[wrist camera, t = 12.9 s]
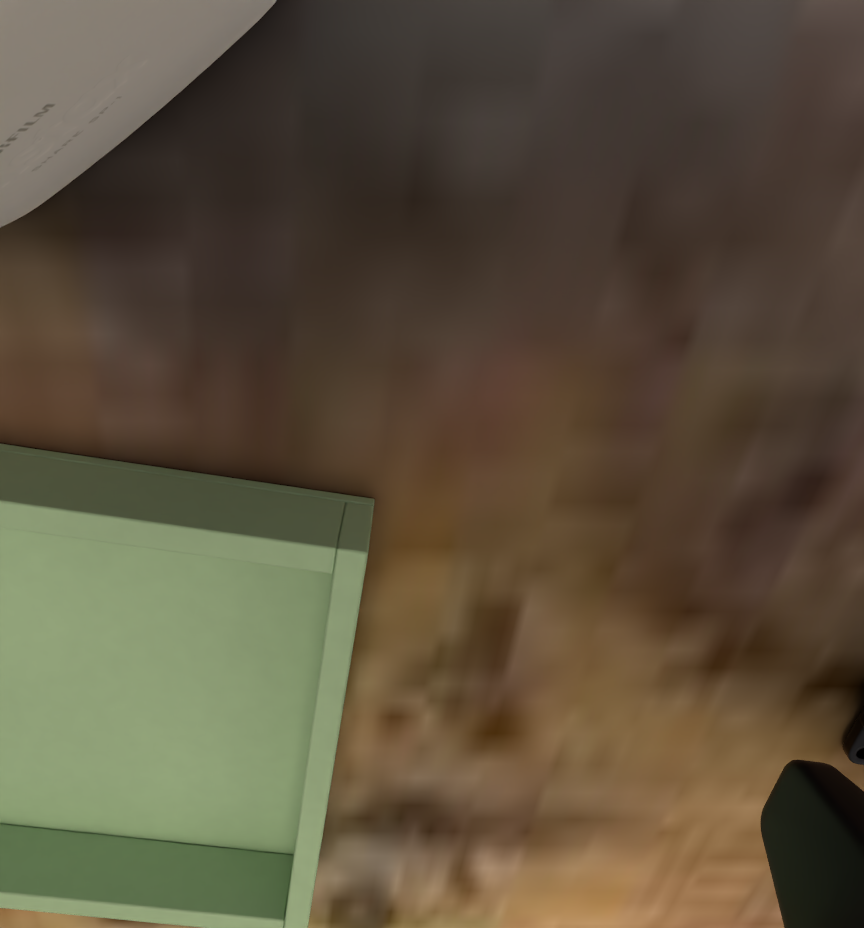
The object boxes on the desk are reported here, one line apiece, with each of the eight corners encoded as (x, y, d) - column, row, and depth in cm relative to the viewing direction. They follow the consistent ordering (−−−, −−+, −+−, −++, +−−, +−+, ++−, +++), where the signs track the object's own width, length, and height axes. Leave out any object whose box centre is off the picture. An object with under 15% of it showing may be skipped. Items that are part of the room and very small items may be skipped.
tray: (375, 498, 21) (368, 553, 19) (316, 861, 28) (306, 938, 25) (-282, 401, 20) (-389, 446, 17) (-180, 808, 27) (-245, 885, 24)
